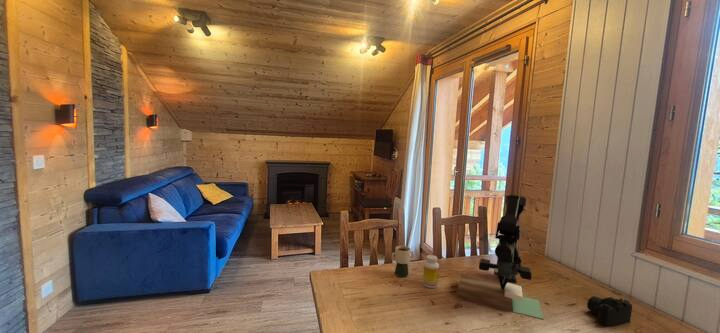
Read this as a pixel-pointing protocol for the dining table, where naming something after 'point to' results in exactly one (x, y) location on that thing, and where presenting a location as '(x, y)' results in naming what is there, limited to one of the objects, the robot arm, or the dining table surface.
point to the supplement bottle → (431, 272)
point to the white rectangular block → (513, 292)
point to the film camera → (610, 310)
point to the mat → (527, 307)
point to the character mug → (402, 260)
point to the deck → (483, 293)
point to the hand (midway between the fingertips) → (502, 288)
